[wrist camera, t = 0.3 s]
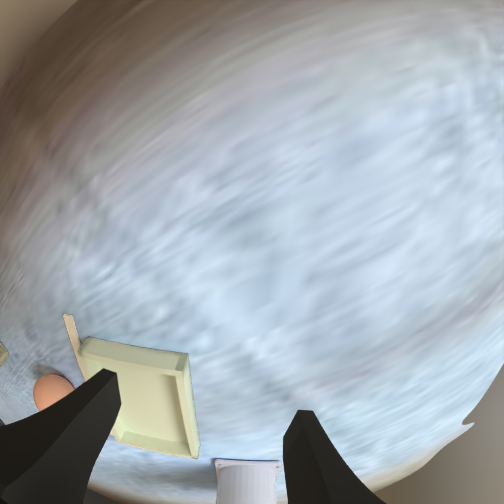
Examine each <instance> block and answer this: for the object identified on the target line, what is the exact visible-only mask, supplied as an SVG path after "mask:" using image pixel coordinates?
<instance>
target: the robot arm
mask: <svg viewBox="0 0 504 504" xmlns="http://www.w3.org/2000/svg"><path fill="white" fill-rule="evenodd" d="M121 405H122V403H121V397H120V391H119V384H118V377H117V373H116V372H113V371H110V370H108V369H105V368H103V369H101V370H100V371H99V372H97V373H96V374H95V375H93V376H92V377H91V378H90V379H88V380H87V381H86V382H84V383H83V384H82V385H80V386H79V387H78V388H76V389H75V390H73V391H72V392H70V393H69V394H68V395H66V396H65V397H63V398H62V399H60V400H58V401H57V402H55V403H54V404H52V405H50V406H49V407H47V408H45V409H43V410H41V411H40V412H38V413H36V414H33V415H31V416H29V417H27V418H24V419H22V420H19V421H17V422H14V423H11V424H8V425H4V426H1V427H0V504H83V499H84V495H85V492H86V488H87V484H88V481H89V478H90V475H91V472H92V469H93V466H94V464H95V462H96V460H97V458H98V456H99V454H100V452H101V450H102V448H103V446H104V444H105V442H106V440H107V438H108V436H109V434H110V432H111V430H112V428H113V426H114V424H115V421H116V419H117V416H118V413H119V410H120V407H121ZM283 463H284V472H285V480H286V489H287V497H288V504H386V503H385V502H383V501H382V500H380V498H378V497H377V496H376V495H375V494H374V493H373V492H371V491H370V490H369V489H368V488H367V487H366V486H365V485H364V484H363V483H362V482H361V481H360V480H359V478H358V477H357V476H356V475H355V474H354V473H353V471H352V470H351V469H350V468H349V466H348V465H347V464H346V463H345V461H344V460H343V459H342V457H341V456H340V454H339V453H338V451H337V450H336V448H335V447H334V445H333V444H332V442H331V441H330V439H329V438H328V436H327V434H326V433H325V431H324V429H323V428H322V426H321V424H320V422H319V421H318V419H317V417H316V415H315V414H314V412H313V411H309V410H298V411H297V413H296V415H295V417H294V418H293V420H292V422H291V424H290V426H289V428H288V429H287V431H286V433H285V435H284V437H283ZM281 466H282V462H280V461H237V460H223V459H216V460H215V469H216V477H217V485H218V488H217V498H216V504H277V500H276V481H277V478H278V475H279V472H280V469H281Z"/></svg>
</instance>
